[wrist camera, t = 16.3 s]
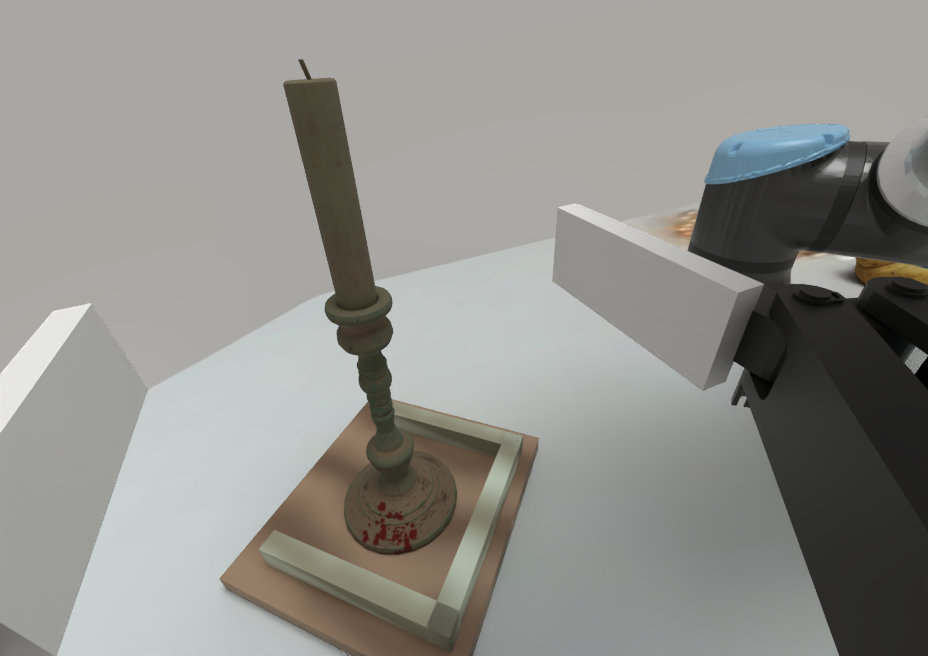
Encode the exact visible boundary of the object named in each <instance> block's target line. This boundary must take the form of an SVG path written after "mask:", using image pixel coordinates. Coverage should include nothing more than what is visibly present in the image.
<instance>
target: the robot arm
mask: <svg viewBox="0 0 928 656" xmlns="http://www.w3.org/2000/svg"><path fill="white" fill-rule="evenodd" d="M849 139H850V135H849V129H848V127H846V126H843V125H836V124H820V125H816V124H804V125H789V126H779V127H771V128H763V129H757V130H752V131H747V132H743V133H739V134H736V135H734V136H731V137H729V138H727V139H726V140H724V141H723V142H722V143H721V144H720V145H719V146H718V148H717V149H716V152H715V154H714V157H713V161H712V163H711V166H710V170H709V173H708V174H707V176H706V177H705V183H706V186H705V189H704V193H703V197H702V201H701V204H700V207H699V211H698V214H697V218H696V222H695V225H694V229H693V232H692V236H691V240H690V244H689V247H688V251H686V250H684V249H682V248H679V247H677V246H675V245H672V244H670V243H668V242H665V241H663V240H661V239H658V238H656V237H654V236H651V235H649V234H647V233H644V232H642V231H640V230H637V229H635V228H633V227H631V226H628V225H626V224H624V223H621V222H619V221H617V220H614V219H612V218H610V217H607V216H605V215H603V214H600V213H598V212H596V211H593V210H591V209H589V208H586V207H584V206H582V205H579V204H572V205H567V206H562V207H558V211H557V225H556V238H555V252H554V266H553V280H552V281H553V282H555V283H556V284H557V285H559V286H560V287H562V288H563V289H564V290H566V291H567V292H568V293H570V294H571V295H572V296H574V297H575V298H577V299H578V300H579V301H581V302H582V303H583V304H585V305H586V306H588V307H589V308H590V309H592V310H593V311H594V312H596V313H597V314H599V315H600V316H601V317H603V318H604V319H605V320H607V321H608V322H609V323H611V324H612V325H614V326H615V327H616V328H618V329H619V330H620V331H622V332H623V333H625V334H626V335H627V336H629V337H630V338H631V339H633V340H634V341H636V342H637V343H638V344H640V345H641V346H642V347H644V348H645V349H646V350H648V351H649V352H651V353H652V354H653V355H655V356H656V357H657V358H659V359H660V360H662V361H663V362H664V363H666V364H667V365H668V366H670V367H671V368H673V369H674V370H675V371H677V372H678V373H679V374H681V375H682V376H683V377H685V378H686V379H688V380H689V381H690V382H692V383H693V384H694V385H696V386H697V387H699V388H700V389H701V390H706V389H708V388H710V387H713V386H715V385H718V384H720V383H723V382H725V381H726V379H727V376H728V374H729V371H730V369H731V366H732V364H733V361H734V362H736V363H738V364H739V365H741V366H742V367H744V371H743V373H742V375H741V378H740V380H739V382H738V385H737V387H736V390H735V392H734V394H733V397H732V402H731V405H735V406H737V403H738V401H739V399H740V397H742V396H746V397H747V399H746V401H745V404H744V407H748V408H751V411H752V414H753V417H754V420H755V422H756V425H757V428H758V431H759V433H760V436H761V439H762V442H763V445H764V447H765V450H766V453H767V456H768V459H769V461H770V464H771V467H772V470H773V472H774V475H775V478H776V481H777V484H778V486H779V489H780V492H781V495H782V498H783V500H784V503H785V506H786V509H787V511H788V514H789V517H790V520H791V523H792V525H793V528H794V531H795V534H796V536H797V539H798V542H799V545H800V548H801V550H802V553H803V556H804V559H805V562H806V564H807V567H808V570H809V573H810V575H811V578H812V581H813V584H814V587H815V589H816V592H817V595H818V598H819V601H820V603H821V606H822V609H823V612H824V614H825V617H826V620H827V623H828V626H829V628H830V631H831V634H832V637H833V640H834V642H835V645H836V648H837V651H838V653H839V656H928V357H927V358H926V360H925V361H924V362H923V364H922V365H921V366H920V368H919V369H918V370H917V372H916V373H915V375H914V374H913V373H912V371H911V370H910V369H909V368H908V367H907V366H906V365H905V364H904V363H905V361H906V360H907V358H908V357H909V355H910V354H911V353H912V351H913V350H914V348H915V347H917V348H919V349H920V350H922V351H923V352H924V353H926V354H927V355H928V285H927V284H924V283H921V282H919V281H916V280H914V279H911V278H904V277H898V276H894V277H875V278H872V279H870V280H868V281H867V283H866V285H865V286H864V288H863V290H862V292H861V294H860V295H859V297H858V298H848V299H846V298H844V297H843V296H842V295H841V294H839V293H837V292H833V291H831V290H828V289H825V288H821V287H818V286H812V285H805V284H791V269H792V266H793V264H794V262H795V259H796V257H797V255H798V253H799V251H801V250H803V251H812V252H819V253H828V254H835V255H843V256H850V257H857V258H865V259H872V260H880V261H887V262H894V263H902V264H909V265H915V266H918V267H921V268H926V269H928V116H926V117H924V118H922V119H920V120H918V121H916V122H914V123H913V124H911V125H910V126H908V127H907V128H906V129H904V130H903V131H902V132H900V133H899V134H898V135H897V136H896V137H895V138H894V139H893V140H892V141H891V142H865V141H863V142H853V141H849ZM147 390H148V388H147V386H146V385H145V383H144V382H143V380H142V379H141V377H140V376H139V374H138V373H137V371H136V370H135V368H134V367H133V365H132V364H131V362H130V361H129V359H128V358H127V356H126V355H125V353H124V351H123V350H122V348H121V347H120V345H119V344H118V342H117V341H116V339H115V338H114V336H113V335H112V333H111V332H110V330H109V329H108V328H107V326H106V324H105V323H104V321H103V319H102V318H101V316H100V315H99V314H98V312H97V310H96V309H95V307H94V306H93V304H92V303H90V304H86V305H81V306H77V307H71V308H67V309H61V310H56V311H53V312H52V313H51V314H50V315H49V317H48V318H47V319H46V320H45V321H44V323H43V324H42V325H41V326H40V327H39V328H38V330H37V331H36V332H35V333H34V334H33V336H32V337H31V338H30V339H29V340H28V342H27V343H26V344H25V345H24V347H23V348H22V349H21V350H20V351H19V352H18V354H17V355H16V356H15V357H14V358H13V359H12V361H11V362H10V363H9V364H8V366H7V367H6V368H5V369H4V370H3V372H2V373H1V374H0V656H57V653H58V650H59V647H60V644H61V641H62V639H63V636H64V633H65V630H66V627H67V624H68V621H69V618H70V615H71V612H72V609H73V606H74V603H75V601H76V598H77V595H78V592H79V589H80V586H81V583H82V580H83V577H84V574H85V571H86V568H87V566H88V563H89V560H90V557H91V554H92V551H93V548H94V545H95V542H96V539H97V536H98V533H99V531H100V528H101V525H102V522H103V519H104V516H105V513H106V510H107V507H108V504H109V501H110V498H111V495H112V493H113V490H114V487H115V484H116V481H117V478H118V475H119V472H120V469H121V466H122V463H123V460H124V458H125V455H126V452H127V449H128V446H129V443H130V440H131V437H132V434H133V431H134V428H135V425H136V422H137V420H138V417H139V414H140V411H141V408H142V405H143V402H144V399H145V396H146V393H147Z"/></svg>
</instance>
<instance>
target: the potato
mask: <svg viewBox="0 0 928 656" xmlns="http://www.w3.org/2000/svg"><path fill="white" fill-rule="evenodd" d="M855 274H856V277H857V278H858V279H859V280H861V281H862V282H863V283H864V284H866V283H867V281H868V280H870V279H872V278H875V277H894V276H898V277H904V278H911V279H914V280H916V281H919V282H921V283H924V284H927V285H928V269H926V268H921V267H918V266H915V265H909V264H902V263H894V262H887V261H880V260H872V259H865V258H857V257H856V267H855Z"/></svg>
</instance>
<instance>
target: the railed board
mask: <svg viewBox="0 0 928 656" xmlns="http://www.w3.org/2000/svg"><path fill="white" fill-rule="evenodd" d="M392 402H393V405H392V406H393V408H394V410H395V414H394V415H395V418H394V424H395V425H396V427H397V428H400V429H403V430H405V431H407V432H408V433H409V434H410V435H411V436H412V438H413V440H414V450H417V451H421V452H425V453H429V454H431V455H433V456H435V457H436V458H438V459H440V460H441V461H442V462H443V463H444V464H445V465H446V466H447V467H448V468H449V470H450V472H451V474H452V476H453V477H454V479H455V484H456V489H457V500H456V507H455V510H454V512H453V515H452V517H451V520H450V521H449V523H448V524H447V525H446V527H445V528H444V530H443V531H442V532H441V533H440V534H439V535H438V536H437V537H435V538H434V539H433V540H432V541H431V542H429V543H428V544H426V545H424V546H422V547H420V548H418V549H416V550H414V551H409V552H405V553H400V554H382V553H378V552H376V551H373V550H370V549H367V548H366V547H364V546H363V545H362V544H360V543H359V542H358V541H356V540H355V539H354V537H353V536H352V534H351V533H350V531H349V530H348V528H347V525H346V521H345V517H344V502H345V497H346V494H347V491H348V488H349V486H350V484H351V483H352V481H353V480H354V478H355V477H356V475H357V474H358V473H359V472H360V471H361V470H362V469H363V468H364V467H365V466H366V465H368V464H369V463H371V462H370V461H369V460H368V458H367V455H366V447H367V444H368V442H369V440H370V439H371V438H372V437H373V436H374V435H375V434H376V430H377V428H376V425H375V424H374V422H373V420H372V418H371V411H370V408H369V402H367V403H366V405H365V406H364V407H363V408H362V409H361V411H360V412H359V413H358V414H357V415H356V416H355V418H354V419H353V420H352V421H351V422H350V424H349V425H348V426H347V427H346V428H345V430H344V431H343V432H342V433H341V434H340V436H339V437H338V438H337V439H336V440H335V442H334V443H333V444H332V445H331V446H330V447H329V449H328V450H327V451H326V452H325V453H324V455H323V456H322V457H321V458H320V459H319V461H318V462H317V463H316V464H315V465H314V467H313V468H312V469H311V470H310V471H309V473H308V474H307V475H306V476H305V477H304V478H303V480H302V481H301V482H300V483H299V484H298V486H297V487H296V488H295V489H294V490H293V492H292V493H291V494H290V495H289V496H288V498H287V499H286V500H285V501H284V502H283V503H282V505H281V506H280V507H279V508H278V509H277V511H276V512H275V513H274V514H273V515H272V517H271V518H270V519H269V520H268V521H267V523H266V524H265V525H264V526H263V527H262V529H261V530H260V531H259V532H258V533H257V534H256V536H255V537H254V538H253V539H252V540H251V542H250V543H249V544H248V545H247V546H246V548H245V549H244V550H243V551H242V552H241V554H240V555H239V556H238V557H237V558H236V560H235V561H234V562H233V563H232V564H231V565H230V567H229V568H228V569H227V570H226V571H225V573H224V574H223V575H222V576H221V577H220V580H221V582H222V583H223V584H224V586H225V587H226V588H227V589H228V590H230V591H231V592H233V593H235V594H237V595H239V596H241V597H243V598H245V599H247V600H249V601H250V602H252V603H254V604H256V605H258V606H260V607H262V608H264V609H266V610H268V611H269V612H271V613H273V614H275V615H277V616H279V617H281V618H283V619H285V620H286V621H288V622H290V623H292V624H294V625H296V626H298V627H300V628H302V629H304V630H305V631H307V632H309V633H311V634H313V635H315V636H317V637H319V638H321V639H323V640H324V641H326V642H328V643H330V644H332V645H334V646H336V647H338V648H340V649H341V650H343V651H345V652H347V653H349V654H351V655H353V656H473V652H474V649H475V646H476V643H477V640H478V637H479V633H480V630H481V627H482V624H483V621H484V617H485V614H486V611H487V608H488V605H489V602H490V598H491V595H492V592H493V589H494V586H495V583H496V579H497V576H498V573H499V570H500V567H501V564H502V560H503V557H504V554H505V551H506V548H507V545H508V541H509V538H510V535H511V532H512V529H513V526H514V522H515V519H516V516H517V513H518V510H519V507H520V503H521V500H522V497H523V494H524V491H525V488H526V484H527V481H528V478H529V475H530V472H531V469H532V465H533V462H534V459H535V456H536V453H537V450H538V439H539V438H537V437H533V436H529V435H525V434H522V433H518V432H514V431H510V430H506V429H503V428H499V427H495V426H491V425H487V424H483V423H480V422H476V421H472V420H468V419H464V418H461V417H457V416H453V415H449V414H445V413H442V412H438V411H434V410H430V409H426V408H423V407H419V406H415V405H411V404H407V403H403V402H400V401H396V400H392Z"/></svg>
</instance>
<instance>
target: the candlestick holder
mask: <svg viewBox="0 0 928 656" xmlns="http://www.w3.org/2000/svg"><path fill="white" fill-rule="evenodd" d="M298 61H299V63H300V65H301V67H302V69H303V71H304V73H305V76H306V78H307V79H304V80H290V81H285V82H284V84H283V85H284V89H285V93H286V97H287V101H288V105H289V109H290V113H291V117H292V120H293V125H294V129H295V133H296V137H297V141H298V145H299V149H300V153H301V157H302V161H303V165H304V169H305V173H306V177H307V181H308V185H309V189H310V193H311V197H312V201H313V205H314V209H315V213H316V217H317V221H318V225H319V229H320V233H321V237H322V241H323V245H324V249H325V253H326V257H327V261H328V264H329V269H330V273H331V277H332V281H333V285H334V288H335V293H336V294H334V295H332V296H331V297H330V298H329V299H328V300H327V302H326V304H325V313H326V316H327V317H328V319H329V320H330V321H331V322H332V323H335V324H337V325H339V327H338V329H337V341H338V343H339V345H340V346H341V347H342V348H343V349H344V350H345V351H346V352H347V353H350V354H353V355H358V356H359V357H358V363H357V368H358V370H359V385H360V387H361V389H362V390H363V391H364V392H365V393H366V394H367V400H368V402H369V408H370V411H371V418H372V420H373V422H374V424H375V425H376V428H377V430H376V434H375V435H374V436H373V437H372V438H371V439H370V440H369V442H368V444H367V447H366V455H367V458H368V460H369V461H370V462H371V463H369V464H368V465H366V466H365V467H364V468H363V469H362V470H361V471H360V472H359V473H358V474H357V475H356V477H355V478H354V480H353V481H352V483H351V484H350V486H349V488H348V491H347V494H346V497H345V502H344V517H345V521H346V525H347V528H348V530H349V531H350V533H351V534H352V536H353V537H354V539H355V540H356V541H358V542H359V543H360V544H362V545H363V546H364V547H366V548H367V549H370V550H373V551H376V552H378V553H382V554H400V553H405V552H409V551H414V550H416V549H418V548H420V547H422V546H424V545H426V544H428V543H429V542H431V541H432V540H433V539H434V538H435V537H437V536H438V535H439V534H440V533H441V532H442V531H443V530H444V528H445V527H446V525H447V524H448V523H449V521H450V520H451V517H452V515H453V512H454V510H455V507H456V500H457V489H456V484H455V479H454V477H453V476H452V474H451V472H450V470H449V468H448V467H447V466H446V465H445V464H444V463H443V462H442V461H441V460H440V459H438V458H436V457H435V456H433V455H431V454H429V453H425V452H421V451H417V450H414V440H413V438H412V436H411V435H410V434H409V433H408V432H407V431H405V430H403V429H400V428H397V427H396V425H395V424H394V418H395V415H394V414H395V410H394V408H393V406H392V405H393V402H392V399H391V392H390V389H389V387H390V386H391V382H392V376H391V373H390V371H389V369H388V366H387V364H386V363H387V360H386V358H385V357H384V356H383V355H382V353H381V350H382V349H384V348H385V347H386V346H387V345H388V344H389V343H390V340H391V337H392V335H393V328H392V325H391V322H390V320H389V319H388V318H387V317H386V315H387V314H388V313H389V312H390V310H391V307H392V297H391V295H390V293H389V292H388V291H387V290H385V289H384V288H381V287H378V286H375V283H374V278H373V273H372V268H371V263H370V257H369V252H368V246H367V241H366V236H365V231H364V226H363V220H362V215H361V210H360V204H359V199H358V194H357V189H356V183H355V179H354V173H353V168H352V162H351V157H350V152H349V146H348V141H347V136H346V132H345V126H344V120H343V115H342V110H341V104H340V99H339V94H338V88H337V83H336V80H335V79H333V78H319V79H311V77H310V74H309V72H308V70H307V67H306V65H305V63H304V61H303V60H298Z"/></svg>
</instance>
